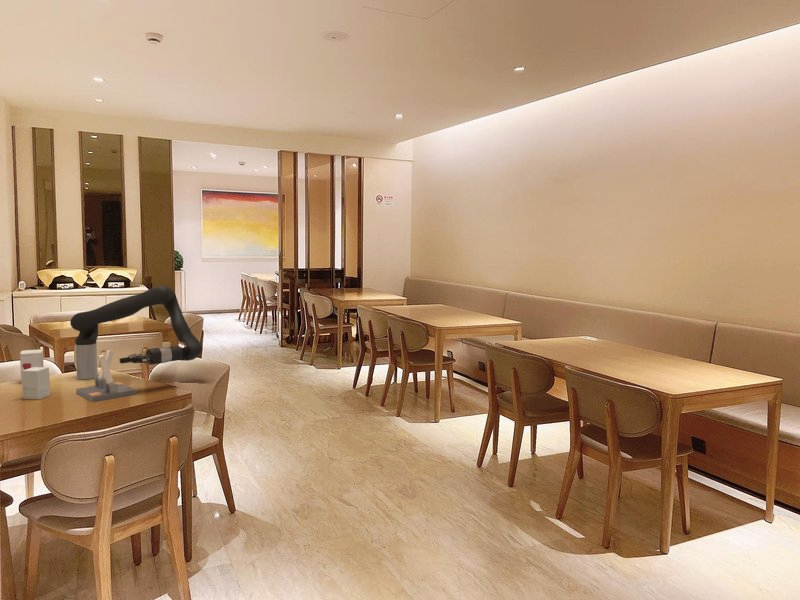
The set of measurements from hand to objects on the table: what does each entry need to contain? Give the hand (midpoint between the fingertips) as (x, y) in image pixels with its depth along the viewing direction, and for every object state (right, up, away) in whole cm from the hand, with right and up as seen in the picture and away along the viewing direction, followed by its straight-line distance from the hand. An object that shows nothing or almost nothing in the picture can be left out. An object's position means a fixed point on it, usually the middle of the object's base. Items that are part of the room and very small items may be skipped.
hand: (120, 361), depth 244 cm
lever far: (-12, -11, +6) cm, 17 cm away
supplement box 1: (-54, -13, +23) cm, 61 cm away
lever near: (-3, -11, -2) cm, 12 cm away
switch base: (-7, -15, +2) cm, 17 cm away
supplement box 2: (-34, -16, -5) cm, 38 cm away
